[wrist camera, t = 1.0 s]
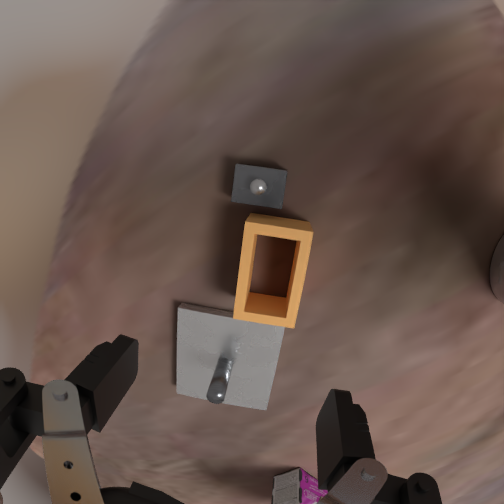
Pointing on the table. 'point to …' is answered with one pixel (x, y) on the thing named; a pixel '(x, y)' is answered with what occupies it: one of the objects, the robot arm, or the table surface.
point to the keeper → (225, 357)
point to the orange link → (282, 308)
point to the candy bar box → (296, 488)
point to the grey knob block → (259, 185)
